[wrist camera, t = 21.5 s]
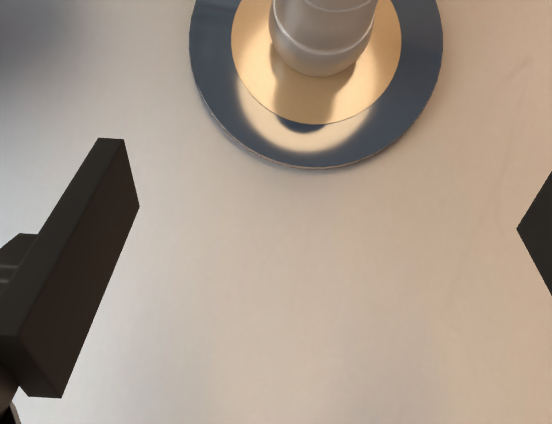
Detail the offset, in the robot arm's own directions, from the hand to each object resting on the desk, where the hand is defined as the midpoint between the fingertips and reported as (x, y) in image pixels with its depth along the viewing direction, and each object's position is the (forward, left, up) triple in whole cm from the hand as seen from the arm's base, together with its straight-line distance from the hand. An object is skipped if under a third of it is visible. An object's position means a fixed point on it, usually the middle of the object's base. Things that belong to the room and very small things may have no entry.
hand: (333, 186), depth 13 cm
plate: (-8, +9, -17) cm, 21 cm away
